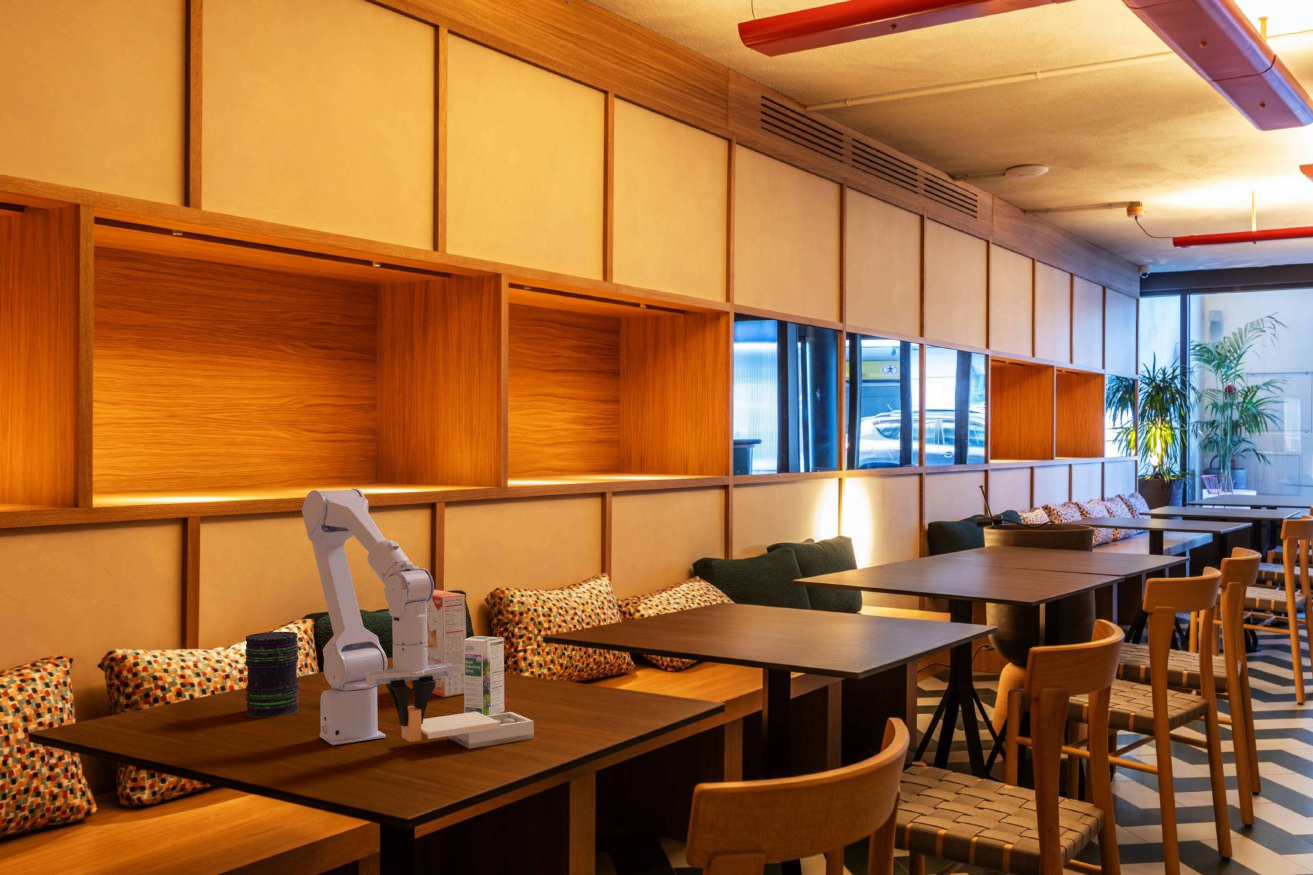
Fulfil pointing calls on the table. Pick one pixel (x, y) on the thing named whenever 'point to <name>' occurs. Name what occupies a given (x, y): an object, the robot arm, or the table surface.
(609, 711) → the table surface
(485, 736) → the tub
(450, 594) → the cracker box
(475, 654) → the syrup box
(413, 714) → the lid
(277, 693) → the storage jar
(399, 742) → the table surface
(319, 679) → the table surface
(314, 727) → the table surface
